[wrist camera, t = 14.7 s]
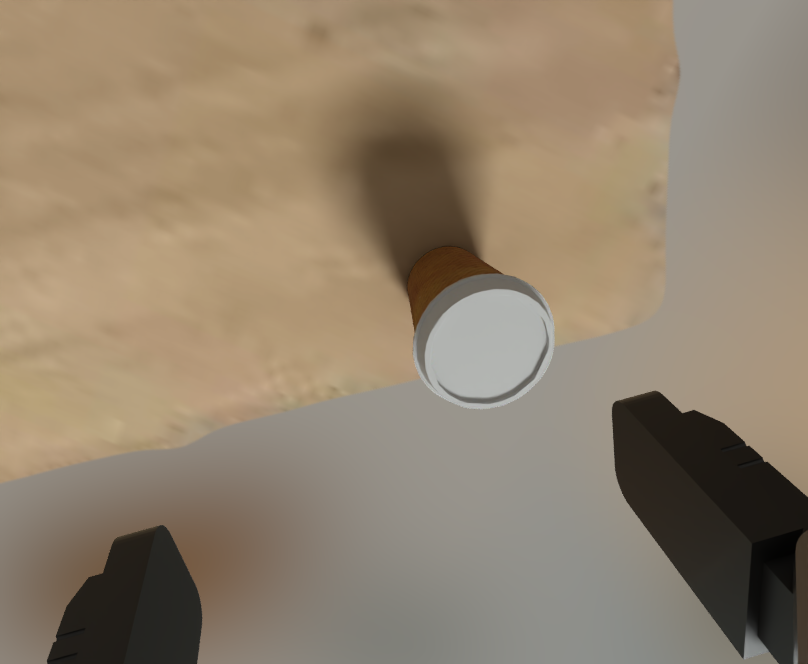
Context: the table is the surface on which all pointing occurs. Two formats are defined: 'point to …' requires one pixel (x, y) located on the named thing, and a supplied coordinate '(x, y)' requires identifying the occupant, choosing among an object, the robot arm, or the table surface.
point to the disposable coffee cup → (477, 330)
